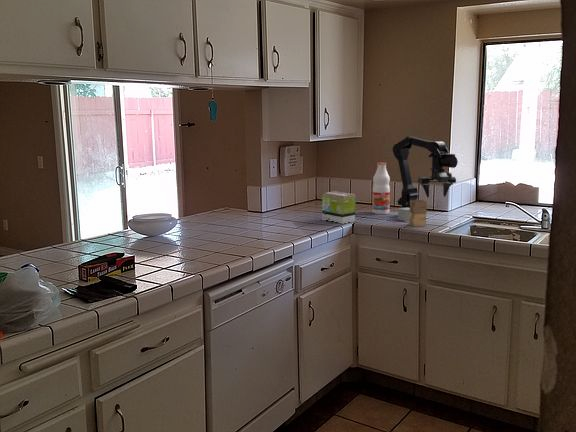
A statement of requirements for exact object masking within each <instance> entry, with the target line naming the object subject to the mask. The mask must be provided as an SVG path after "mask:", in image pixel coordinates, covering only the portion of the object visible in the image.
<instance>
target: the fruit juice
mask: <svg viewBox="0 0 576 432" xmlns="http://www.w3.org/2000/svg"><path fill="white" fill-rule="evenodd" d="M376 165H377V168H376V171H375V174H374V176H373V179H372V181H373V186H372V208H371V209H372V213H373V214H374V213H375V214H376V215H387V214H390V204H391V199H390V198H391V197H390V196H391V187H390V181H391V177H390V175H389V172H388V171H387V162H377V164H376ZM375 214H374V215H375Z"/></svg>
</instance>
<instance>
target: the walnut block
mask: <svg viewBox="0 0 576 432" xmlns="http://www.w3.org/2000/svg"><path fill="white" fill-rule="evenodd" d="M410 213H413V214H426V215H427V201H425V200H423V199H417V200H410Z"/></svg>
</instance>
